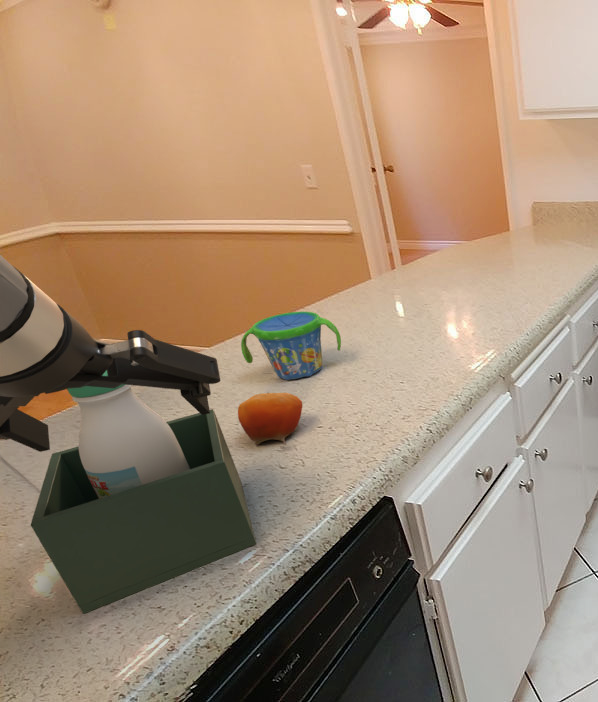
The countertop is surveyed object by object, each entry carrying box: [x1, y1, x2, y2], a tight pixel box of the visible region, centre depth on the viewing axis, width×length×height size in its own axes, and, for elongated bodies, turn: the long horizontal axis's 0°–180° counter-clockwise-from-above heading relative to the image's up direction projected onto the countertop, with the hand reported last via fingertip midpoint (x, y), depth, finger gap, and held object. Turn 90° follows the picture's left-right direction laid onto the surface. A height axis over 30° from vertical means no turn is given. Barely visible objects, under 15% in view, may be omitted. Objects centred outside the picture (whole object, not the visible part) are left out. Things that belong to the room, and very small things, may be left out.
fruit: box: [237, 392, 303, 446], centre depth 82 cm, size 8×8×8 cm
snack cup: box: [240, 311, 342, 381], centre depth 101 cm, size 16×10×10 cm
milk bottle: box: [66, 370, 190, 499], centre depth 59 cm, size 8×8×20 cm
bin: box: [30, 408, 257, 614], centre depth 61 cm, size 15×15×11 cm
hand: (128, 419), depth 59 cm, fingers open, 13 cm apart
